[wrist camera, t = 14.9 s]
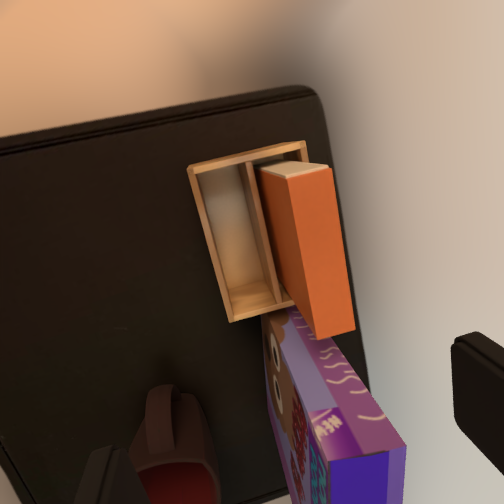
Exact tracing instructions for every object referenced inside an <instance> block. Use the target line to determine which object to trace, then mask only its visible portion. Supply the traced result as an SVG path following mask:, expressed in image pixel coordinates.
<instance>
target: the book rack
mask: <svg viewBox="0 0 504 504" xmlns="http://www.w3.org/2000/svg"><path fill="white" fill-rule="evenodd" d="M276 159H280V160H288V161H297V162H305V163H309V160H308V154H307V148H306V142H305V141H294V142H284V143H280V144H275V145H271V146H267V147H263V148H259V149H255V150H250V151H246V152H242V153H238V154H234V155H230V156H225V157H221V158H217V159H213V160H209V161H205V162H200V163H196V164H192V165H189V166H188V168H187V173H188V176H189V180H190V183H191V187H192V191H193V194H194V198H195V201H196V205H197V209H198V212H199V216H200V219H201V223H202V227H203V230H204V234H205V237H206V241H207V244H208V248H209V252H210V255H211V259H212V262H213V266H214V270H215V273H216V277H217V280H218V284H219V288H220V291H221V295H222V298H223V302H224V306H225V309H226V313H227V316H228V320H229V323H231V322H234V321H238V320H241V319H245V318H249V317H252V316H256V315H259V314H263V313H267V312H270V311H274V310H278V309H281V308H285V307H288V306H292V305H295V303H294V302H293V300H292V298H291V297H290V295H289V294H288V292H287V290H286V289H285V287H284V285H283V284H282V282H281V281H280V279H279V277H278V276H277V274H276V271H275V266H274V261H273V257H272V252H271V248H270V243H269V239H268V234H267V229H266V225H265V220H264V216H263V211H262V207H261V202H260V197H259V193H258V188H257V184H256V179H255V175H254V170H253V165H256V164H260V163H264V162H268V161H272V160H276Z"/></svg>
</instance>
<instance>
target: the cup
mask: <svg viewBox="0 0 504 504" xmlns="http://www.w3.org/2000/svg"><path fill="white" fill-rule="evenodd" d="M128 455H129V457H130V459H131V461H132V464H133V466H134V468H135V470H136V472H137V474H138V476H139V478H140V481H141V483H142V485H143V487H144V489H145V491H146V493H147V496H148V498H149V500H150V502H151V504H221V484H220V475H219V468H218V461H217V456H216V452H215V448H214V444H213V440H212V436H211V433H210V429H209V426H208V423H207V420H206V417H205V415H204V412H203V410H202V408H201V406H200V404H199V402H198V400H197V399H196V397H195V396H194V395H193V394H188V393H180V391H179V389H178V387H177V386H176V385H172V384H168V385H160V386H157V387H155V388H153V389H151V390H150V391H149V393H148V396H147V400H146V409H145V418H144V420H143V421H142V423H141V425H140V427H139V429H138V431H137V433H136V435H135V437H134V440H133V442H132V444H131V446H130V449H129V451H128Z"/></svg>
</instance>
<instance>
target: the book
mask: <svg viewBox="0 0 504 504" xmlns="http://www.w3.org/2000/svg"><path fill="white" fill-rule="evenodd" d="M253 170H254V175H255V179H256V184H257V188H258V193H259V197H260V202H261V207H262V211H263V216H264V220H265V225H266V229H267V234H268V239H269V243H270V248H271V252H272V257H273V261H274V266H275V271H276V274H277V276H278V277H279V279H280V281H281V282H282V284H283V285H284V287H285V289H286V290H287V292H288V294H289V295H290V297H291V298H292V300H293V302H294V303H295V305H296V306H297V308H298V310H299V311H300V313H301V315H302V316H303V318H304V319H305V321H306V323H307V324H308V326H309V328H310V329H311V331H312V332H313V334H314V336H315V337H316V339H317V340H320V339H324V338H327V337H331V336H334V335H338V334H341V333H345V332H348V331H352V330H355V323H354V316H353V309H352V302H351V296H350V289H349V282H348V275H347V269H346V262H345V255H344V249H343V242H342V235H341V228H340V222H339V215H338V208H337V201H336V195H335V188H334V181H333V174H332V169H331V168H328V165H323V164H314V163H305V162H297V161H288V160H280V159H276V160H272V161H268V162H264V163H260V164H256V165H253Z"/></svg>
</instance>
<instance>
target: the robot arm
mask: <svg viewBox="0 0 504 504" xmlns="http://www.w3.org/2000/svg"><path fill="white" fill-rule="evenodd" d="M451 364H452V385H453V405H454V418H455V421H456V423H457V425H458V427H459V428H460V429H461V431H462V432H463V433H465V435H466V436H467V437H468V438H469V439H470V440H471V441H472V442H473V443H474V444H475V445H476V446H477V448H478V449H479V450H480V451H481V452H482V453H483V454H484V455H485V456H486V457H487V458H488V459H489V460H490V461H491V462H492V464H493V465H494V466H495V467H496V468H497V469H498V470H499V471H500V472H501V473H502V474H503V475H504V348H503V347H502V346H500V345H499V344H497V343H496V342H494V341H492V340H491V339H489V338H488V337H486V336H485V335H483V334H482V333H480V332H472V333H468V334H465V335H462V336H459V337H456V338H455V340H454V344H452V346H451ZM73 504H151V502H150V500H149V498H148V496H147V493H146V491H145V489H144V487H143V485H142V483H141V481H140V478H139V476H138V474H137V472H136V470H135V468H134V466H133V464H132V461H131V459H130V457H129V455H128V453H127V451H126V449H125V448H120V449H119V447H118V446H117V445H116V444H113V445H110V446H107V447H104V448H100V449H97V450H94V451H92V452H91V454H90V456H89V459H88V461H87V464H86V467H85V470H84V473H83V476H82V479H81V482H80V485H79V488H78V491H77V494H76V497H75V500H74V503H73Z"/></svg>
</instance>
